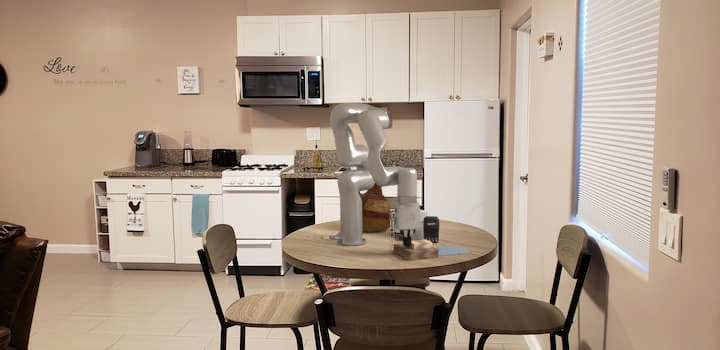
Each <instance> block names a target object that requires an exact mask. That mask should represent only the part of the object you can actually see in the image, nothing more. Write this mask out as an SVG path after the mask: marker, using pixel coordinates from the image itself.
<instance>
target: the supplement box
mask: <svg viewBox="0 0 720 350" xmlns="http://www.w3.org/2000/svg"><path fill="white" fill-rule="evenodd" d="M420 212H421V227H420V230H419V231H416V232H415V233H414V234H413V236H412V237H411V241H413V240H423V219H424V217H425V216H428V211H427V210H424V209H421V208H420Z"/></svg>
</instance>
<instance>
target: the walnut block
mask: <svg viewBox="0 0 720 350" xmlns="http://www.w3.org/2000/svg"><path fill="white" fill-rule="evenodd" d="M435 248H436V247H433V246H432V248H422V249H412V248H410V247H405V246H404V244H403V243H396V244H395V243H394V244H393V253H395V254H397V255H399V256H401V257H402V258H405V259H407V261H408V260H409V261H411V262H412V261H419V260H420V261H421V260H427V259H436V258H439V256H438V249H435Z"/></svg>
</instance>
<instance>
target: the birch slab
mask: <svg viewBox="0 0 720 350" xmlns="http://www.w3.org/2000/svg"><path fill="white" fill-rule="evenodd" d="M432 247H433V243H432V242H430V241H428V240H426V239H420V240H411V247H410V248H412V249H422V248H432Z"/></svg>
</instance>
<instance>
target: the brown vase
mask: <svg viewBox="0 0 720 350" xmlns="http://www.w3.org/2000/svg"><path fill="white" fill-rule="evenodd" d="M382 188H383V187H381V186H378V185H377V184H376V183H375V184H374V186H373V187H372V188H371V189H369V190H366V192H364V193H361V191H359V192H358V193H359V195H360V197H361V200H362V232H363V233H364V232H367V233H368V232H371V233H374V232H382V231H385V230H388V229H390V228H391V225H390V219H389V211H390V210H391V211H392V209H391V205H390V203H389V200H388V199H387V197H386V196H385V195H384V194H383V190H382Z"/></svg>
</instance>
